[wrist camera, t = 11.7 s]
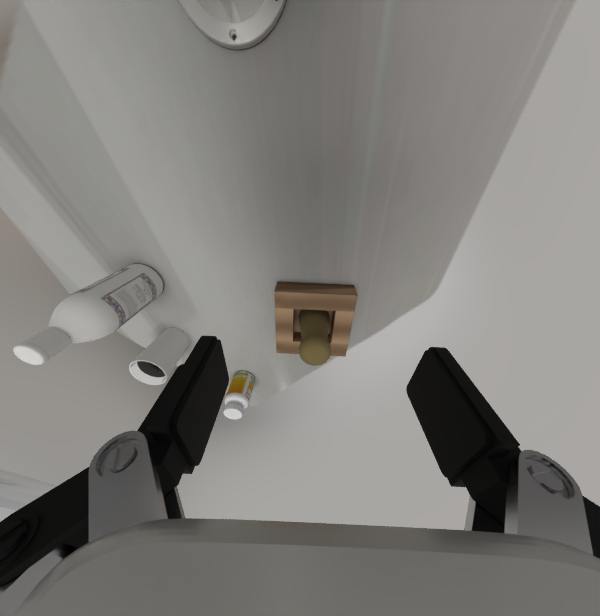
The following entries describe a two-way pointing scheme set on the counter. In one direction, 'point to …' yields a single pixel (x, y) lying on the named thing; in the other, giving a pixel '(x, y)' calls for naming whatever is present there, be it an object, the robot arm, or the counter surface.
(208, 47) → the counter surface
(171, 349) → the white cylindrical cup
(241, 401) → the supplement bottle
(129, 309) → the bath foam
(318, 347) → the olive brown peg
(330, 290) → the socket block
